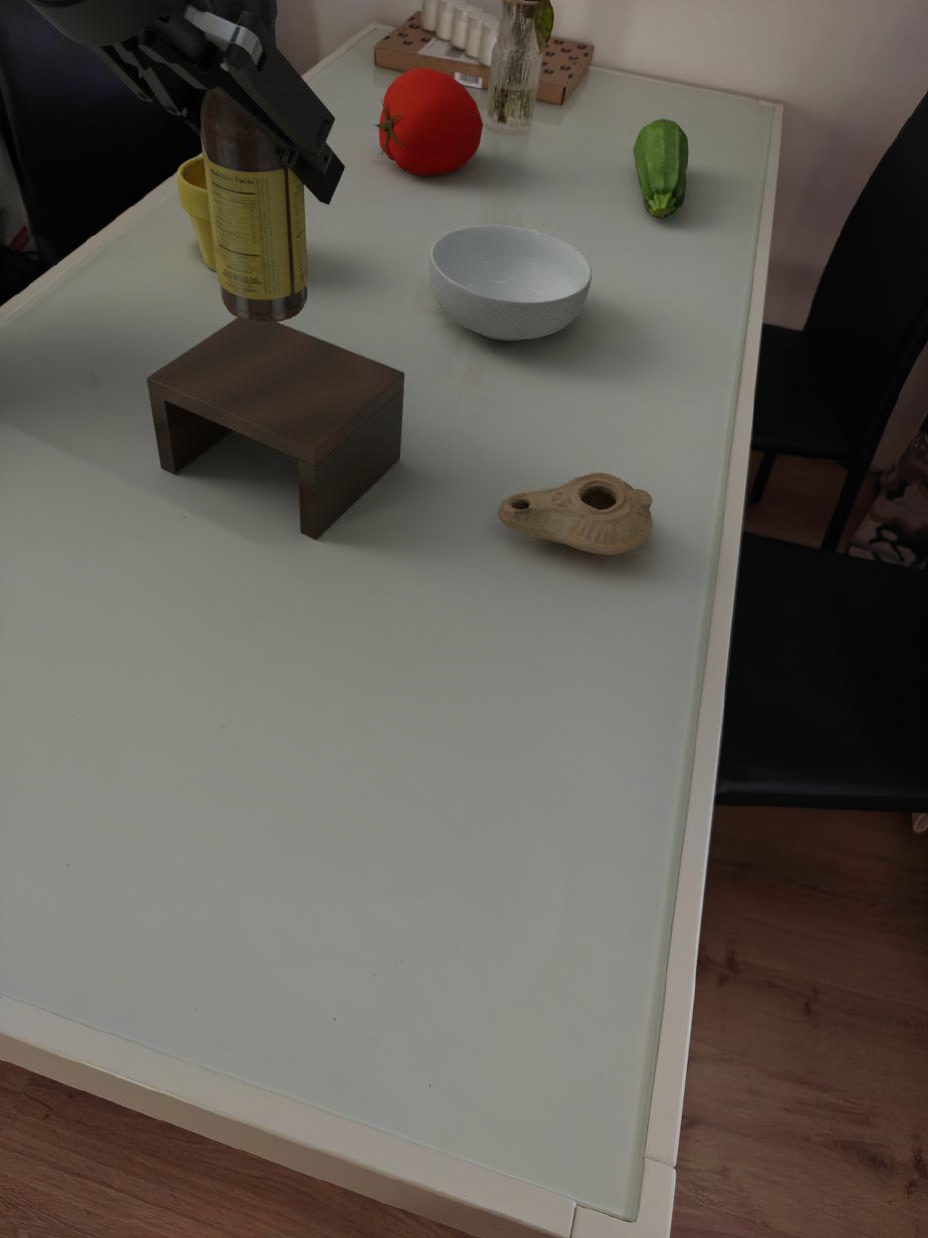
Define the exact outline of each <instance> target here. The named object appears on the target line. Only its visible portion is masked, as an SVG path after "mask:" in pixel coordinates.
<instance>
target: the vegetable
mask: <svg viewBox="0 0 928 1238" xmlns="http://www.w3.org/2000/svg"><path fill="white" fill-rule="evenodd" d="M632 152H633V153H632V154H633V157H634V164H635V170H636V174H637V178H638V183H639V186H640V190H641V194H642V198H643V200H642V201H643V208H644V210H646V211H647V212H649V214H651V216H653V217H659V218H665V219H666V217H669V216H670V215H673V214H675V213H676V212H677V210H678V209H680V208H681V207H682V206H684V204H685V200H686V199H685V198H686V189H687V170H688V165H689V139H688V136H687V134H686V133H685V131H684V130H683V129H682V128H681V126H680V125H679V124H678V123H677V122H676V121H674V120H670V119H666V118H660V119H656V120H654V121H652V122H650V123H648V124H646V125H645V126H643V127H642V128H641V129H640V130H639V133H638V134H637V137H636V140H635V143H634V144H633V147H632Z"/></svg>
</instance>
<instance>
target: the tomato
mask: <svg viewBox="0 0 928 1238" xmlns="http://www.w3.org/2000/svg"><path fill="white" fill-rule="evenodd" d="M380 99H381V105H382V107H383V108H382V110H381V112H380V117H379V122H378V123H376V124H374V126H376V127H377V128H378V140H379V146H380V148H381V149H382V151H381V155H383V153H385V155H386V156H387V158H388V159H389V160H391V161H393V162H395V164H396V166H398V167H399V168H400V169H402V170H403V171H404V172H408V173H409V174H412V175H413V174H414V175H415V176H442V175H446V174H450V173H454V172H455V173H456V172H457V171H459V170H460V169H462V168H463V167H465V166H466V165H467V163H469V161H470V160H471V159H472V158H473V157H474V156H475V155H476V153H477V151H478V149H479V147H480V146H481V145H480V144H481V140H482V134H483V128H484V123H483V122H484V121H483V119H482V116H481V112H480V110H479V108H478V104H477V102H476V100H475V99H474V97H473V96H472V95H471V94H470V92H469V91H468V89H467V88H466V87H465V86H464V85H463V84H462V83H460V82H459V81H458V80H456V78H454V77H453V76H452V75H450V74H449V73H447V72H443V71H441V70H439V69H434V68H430V67H419V68H413V69H410V70H408V71H406V72H405V73H403V74H401V75H400V76H398V77H395V79H394V80H393V81H392V82H391V83H390V84H389V86H388V87H387V89H386V91H385V94H384V96H383V99H382V97H381V98H380Z"/></svg>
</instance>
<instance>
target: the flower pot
mask: <svg viewBox="0 0 928 1238" xmlns="http://www.w3.org/2000/svg"><path fill="white" fill-rule="evenodd" d="M176 177H177V178H176V179H177V189H178V194H179V201H180V205H181V207H182V209H183V210H184V211H185V212H186V213H187V214H188V216H189V218H190V221H191V224H192V227H193V231H194V234H195V237H196V240H197V243H198V246H199V250H200V253H201V256H202V259H203V262H204V264H205V265H206V266H207V267H208V268H209V269H210V270H212V271H214V272H216V264H215V255H214V246H213V237H212V229H211V221H210V212H209V203H208V193H207V184H206V175H205V166H204V158H203V154H202V155H197V156H195V157H192V158H190V159H187V160H186V161H184V162H183V163H182V164H181V165H180V166H179V167H178V168H177V171H176Z"/></svg>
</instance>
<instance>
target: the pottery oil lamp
mask: <svg viewBox="0 0 928 1238" xmlns="http://www.w3.org/2000/svg"><path fill="white" fill-rule="evenodd" d="M653 499H654V498H653V497H652V495H651V494H650V493H649V491H647V490H643V489H640V488H634V487H633V486H631V485H630V484H629V483H628V482H626V481H624V480H622V479H621V478H620V477H617V476H615V475H614V474H611V473H608V472H607V473H606V472H591V473H588V474H585V475H582V476H581V475H578V476H576V477H574V478H572V479H571V480H569V481H567V482H565V483H563V484H562V485H559V486H556V487H552V488H546V489H539V490H532V491H527V492H525V491H524V492H519V493H515V494H511V495H509V496H507V497H506V498H504V499H503V500H502V502H501V503H500V506H499V508H498V510H497V516H498V518H499V520H500V521H501V522H502V524H503V525H504V527H506V528H508V529H509V530H511V531H513V532H516V533H519V534H521V535H524V536H527V537H528V536H529V537H533V538H536V539H542V540H545V541H551V542H554V543H559V544H563V545H566V546H569V547H570V548H572V549H574V550H577V551H581V552H585V553H591V554H594V555H595V554H596V555H618V554H619V555H620V554H623V553H628V552H630V551H632V550H635V549H637V548H639V547H640V546H641V545H642V544H644V542H645V541H646V540H647V539H648V538H649V536H650V534H651V532H652V529H653V518H652V513H651V510H650V508H651V505H652V504H653V501H654V500H653Z"/></svg>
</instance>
